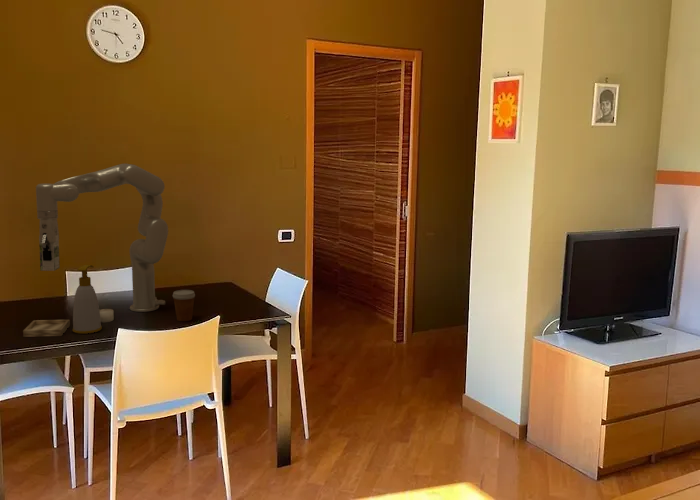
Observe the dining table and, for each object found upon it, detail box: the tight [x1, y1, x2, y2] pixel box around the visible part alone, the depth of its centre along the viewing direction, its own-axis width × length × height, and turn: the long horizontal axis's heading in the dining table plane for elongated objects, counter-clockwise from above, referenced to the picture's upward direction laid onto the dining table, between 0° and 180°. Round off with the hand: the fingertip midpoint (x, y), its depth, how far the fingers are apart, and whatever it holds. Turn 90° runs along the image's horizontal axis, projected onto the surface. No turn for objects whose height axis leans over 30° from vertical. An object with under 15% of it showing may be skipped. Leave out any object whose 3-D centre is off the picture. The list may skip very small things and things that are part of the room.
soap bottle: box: [72, 264, 103, 335], centre depth 271 cm, size 11×12×26 cm
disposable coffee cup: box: [172, 289, 196, 322], centre depth 291 cm, size 10×10×12 cm
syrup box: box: [38, 234, 61, 272], centre depth 275 cm, size 6×6×14 cm
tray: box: [22, 319, 71, 338], centre depth 271 cm, size 14×14×2 cm
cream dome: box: [99, 308, 115, 323], centre depth 288 cm, size 7×7×4 cm
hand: (49, 258), depth 275 cm, fingers closed on syrup box, 5 cm apart
